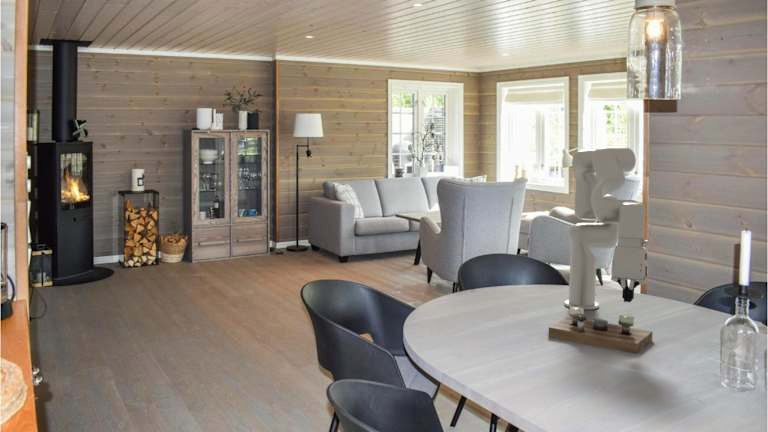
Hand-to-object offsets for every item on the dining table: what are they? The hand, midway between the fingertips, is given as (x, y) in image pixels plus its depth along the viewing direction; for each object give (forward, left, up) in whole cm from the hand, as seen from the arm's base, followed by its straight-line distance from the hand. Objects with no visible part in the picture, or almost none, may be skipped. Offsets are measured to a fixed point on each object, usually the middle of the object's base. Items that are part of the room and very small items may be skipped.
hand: (627, 301), depth 217 cm
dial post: (+6, -12, -11) cm, 17 cm away
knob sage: (0, 0, -10) cm, 10 cm away
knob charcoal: (0, -8, -13) cm, 16 cm away
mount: (0, -8, -14) cm, 16 cm away
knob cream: (0, -16, -10) cm, 19 cm away
